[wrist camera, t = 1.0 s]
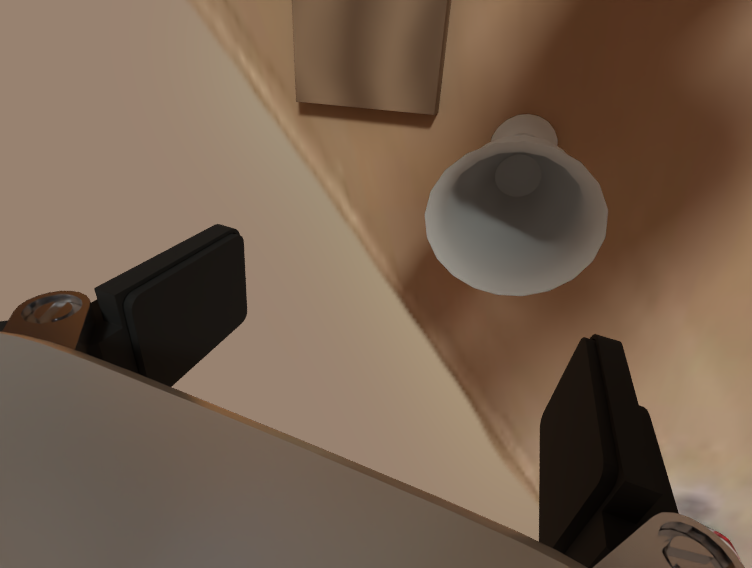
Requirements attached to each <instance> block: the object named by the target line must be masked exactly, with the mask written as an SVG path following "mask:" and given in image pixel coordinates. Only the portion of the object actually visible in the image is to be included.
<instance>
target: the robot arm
mask: <svg viewBox="0 0 752 568" xmlns="http://www.w3.org/2000/svg"><path fill="white" fill-rule="evenodd" d="M95 293H96V296H97V300H95V301H94V302H92V303H91V302H90V299H89V298H88V297H87V296H86V295H84V294H82V293H80V292H75V291H56V292H49V293H46V294H42V295H38V296H36V297H33V298H31V299H29V300H27V301H25V302H23V303H22V304H20V305H19V306H18V307H17V308H16V309H15V310H14V311H13V313H12V315H11V317H10V318H9V320H8V321H1V322H0V568H745V567H744V565H743V564H742V563H741V561H740V560H739V559H738V557H737V556H736V554H735V553H734V552H733V550H732V549H731V548H730V547H729V546H728V545H727V544H726V543H725V542H724V541H723V540H722V539H721V538H720V537H719V536H717V535H716V534H715V533H713V532H712V531H711V530H709V529H708V528H707V527H705V526H704V525H702V524H701V523H699V522H697V521H695V520H693V519H691V518H689V517H687V516H684V515H680V514H679V513H678V510H677V506H676V503H675V499H674V496H673V493H672V489H671V486H670V483H669V479H668V476H667V472H666V469H665V466H664V462H663V459H662V455H661V452H660V449H659V445H658V442H657V438H656V435H655V432H654V428H653V425H652V421H651V418H650V415H649V413H648V411H647V409H645V408H644V407H642V406H639V405H638V401H637V397H636V394H635V390H634V386H633V383H632V379H631V375H630V371H629V368H628V364H627V360H626V357H625V353H624V349H623V346H622V343H621V342H620V341H617V340H613V339H610V338H606V337H603V336H600V335H596V334H594V335H593V336H592V337H591V338H590V339H588V338H585V337H583V338H582V339H581V340H580V342H579V344H578V346H577V348H576V350H575V352H574V354H573V356H572V358H571V360H570V362H569V364H568V366H567V368H566V369H565V371H564V373H563V375H562V377H561V379H560V381H559V383H558V385H557V387H556V389H555V391H554V393H553V395H552V397H551V399H550V401H549V403H548V405H547V407H546V409H545V411H544V413H543V415H542V418H541V423H540V487H539V542H538V541H536V540H534V539H532V538H530V537H528V536H526V535H524V534H522V533H520V532H518V531H515V530H513V529H511V528H508V527H506V526H504V525H502V524H499V523H497V522H495V521H492V520H490V519H488V518H485V517H483V516H481V515H478V514H476V513H474V512H472V511H469V510H467V509H465V508H462V507H460V506H458V505H455V504H453V503H451V502H449V501H446V500H444V499H442V498H439V497H437V496H434V495H432V494H430V493H427V492H425V491H422V490H420V489H418V488H415V487H413V486H411V485H408V484H406V483H403V482H401V481H399V480H396V479H393V478H391V477H389V476H386V475H384V474H382V473H379V472H377V471H374V470H372V469H370V468H367V467H365V466H362V465H360V464H358V463H355V462H353V461H350V460H348V459H346V458H343V457H341V456H338V455H336V454H334V453H331V452H329V451H326V450H324V449H321V448H319V447H317V446H314V445H312V444H309V443H307V442H304V441H302V440H299V439H297V438H294V437H292V436H290V435H287V434H285V433H282V432H280V431H278V430H275V429H273V428H270V427H268V426H265V425H263V424H261V423H258V422H255V421H253V420H251V419H248V418H246V417H243V416H241V415H238V414H236V413H233V412H231V411H229V410H226V409H224V408H221V407H219V406H216V405H214V404H211V403H209V402H207V401H204V400H202V399H199V398H197V397H194V396H192V395H189V394H187V393H184V392H182V391H179V390H177V389H174V388H172V386H173V385H174V384H175V383H176V382H177V381H178V380H179V379H180V378H182V377H183V376H184V375H185V374H186V373H187V372H188V371H189V370H190V369H191V368H192V367H194V366H195V365H196V364H197V363H198V362H199V361H200V360H202V359H203V358H204V357H205V356H206V355H207V354H208V353H209V352H210V351H211V350H212V349H214V348H215V347H216V346H217V345H218V344H219V343H220V342H221V341H223V340H224V339H225V338H226V337H227V336H228V335H229V334H230V333H232V332H233V330H235V329H236V328H237V327H238V326H239V325H240V324H241V323H242V322H243V321H244V320H245V318H246V315H247V300H246V278H245V258H244V242H243V238H242V236H240V234H239V232H238V231H237V230H236V229H234V228H230V227H227V226H223V225H220V224H217V225H214V226H212V227H210V228H208V229H206V230H204V231H202V232H200V233H199V234H196V235H195V236H193V237H191V238H189V239H187V240H185V241H183V242H181V243H179V244H177V245H176V246H174V247H172V248H170V249H168V250H166V251H164V252H162V253H161V254H158V255H157V256H155V257H153V258H151V259H149V260H147V261H145V262H143V263H142V264H140V265H138V266H136V267H134V268H132V269H130V270H128V271H126V272H124V273H122V274H120V275H119V276H117V277H115V278H113V279H111V280H109V281H107V282H105V283H103V284H101V285H100V286H98V287H96V288H95Z"/></svg>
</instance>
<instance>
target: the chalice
mask: <svg viewBox="0 0 752 568" xmlns="http://www.w3.org/2000/svg"><path fill="white" fill-rule="evenodd" d="M557 144H558V140H557V136H556V133H555V130H554V129H553V127H552V126H551V125H550V123H549V122H548V121H546V120H545V119H543V118H541V117H540V116H536V115H531V114H523V115H517V116H514V117H512V118H510V119H507V120H506V121H505V122H504V123H502V124H501V125H500V126H499V127H498V128H497V130H496V131H495V133H494V134H493V136H492V139H491V142H490V143H487V144H485V145H484V146H483V147H481V148H480V149H478V150H475V151H472V152H470V153H467V154H466V155H464V156H463V157H462V158H460V159H459V160H458V161H457V162H455V163H454V164H453V165H451V166H450V167H449V168H447V169H446V170H445V171H444V173H443V174H442V176H441V177H440V179H439V180H438V181H437V183H436V184H435V186H434V187H433V189H432V190H431V192H430V196H429V200H428V204H427V208H426V212H425V223H426V232H427V239H428V241H429V243H430V245H431V247H432V249H433V251H434V253H435V255H436V258H437V259H438V260H439V261H440V262H441V263H442V264H443V265H444V267H445V268H446V269H447V270H448V271H449V272H450V273H451V274H452V275H453V276H455V277H456V278H458V279H460V280H461V281H463V282H465V283H466V284H468V285H470V286H471V287H473V288H476V289H479V290H483V291H486V292H489V293H493V294H496V295H511V296H526V295H531V294H536V293H541V292H546V291H550V290H552V289H554V288H556V287H558V286H560V285H562V284H564V283H566V282H568V281H570V280H573V279H574V278H575V277H576V276H577V275H578V274H579V273H580V272H581V271H583V270H584V269H585V268H586V267H587V266H588V265H589V264H590V263H591V262H592V261H593V260H594V258H595V256H596V254H597V252H598V250H599V249H600V247H601V245H602V243H603V241H604V239H605V237H606V227H607V216H608V208H607V205H606V202H605V199H604V196H603V193H602V190H601V187H600V184H599V183H598V182H597V180H596V179H595V178H594V177H593V176H592V175H591V173H590V172H589V171H588V170H587V169H586V168H585V166H584V165H583V164H582V163H581V162H580V161H578V160H576V159H574V158H573V157H571V156H569V155H567V154H566V153H565V151H564V150H563V149H561V148H560V147H558V146H557Z"/></svg>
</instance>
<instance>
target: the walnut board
mask: <svg viewBox="0 0 752 568" xmlns="http://www.w3.org/2000/svg"><path fill="white" fill-rule="evenodd" d="M450 6H451V0H292V15H293V39H294V62H295V85H296V102H306V103H317V104H327V105H337V106H347V107H358V108H368V109H378V110H389V111H399V112H409V113H419V114H430V115H435V114H437V113H438V109H439V101H440V92H441V84H442V75H443V66H444V58H445V49H446V41H447V32H448V23H449V15H450Z"/></svg>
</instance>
